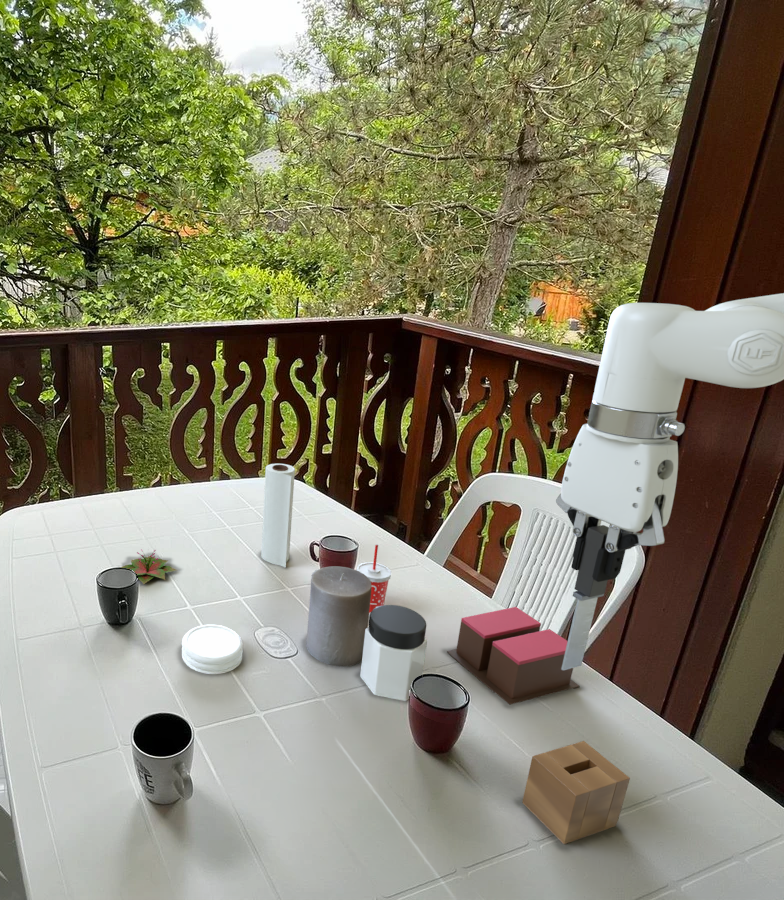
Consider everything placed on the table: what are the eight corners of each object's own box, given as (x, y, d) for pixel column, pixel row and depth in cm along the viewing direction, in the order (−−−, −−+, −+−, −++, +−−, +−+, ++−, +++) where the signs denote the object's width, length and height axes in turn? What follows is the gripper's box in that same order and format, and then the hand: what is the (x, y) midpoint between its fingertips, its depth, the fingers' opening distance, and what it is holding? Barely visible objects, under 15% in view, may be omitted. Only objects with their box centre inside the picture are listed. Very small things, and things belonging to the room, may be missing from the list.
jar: (381, 661, 105) (388, 597, 101) (427, 685, 99) (438, 618, 95) (350, 685, 99) (357, 618, 95) (398, 712, 93) (407, 642, 89)
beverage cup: (345, 610, 119) (351, 542, 115) (367, 600, 122) (374, 534, 118) (370, 626, 114) (378, 556, 110) (393, 615, 118) (401, 547, 113)
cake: (510, 641, 110) (517, 602, 108) (578, 691, 98) (588, 649, 96) (445, 655, 106) (451, 616, 104) (508, 710, 94) (517, 666, 92)
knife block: (570, 791, 80) (583, 740, 77) (614, 831, 74) (630, 778, 72) (520, 808, 78) (532, 755, 75) (562, 850, 72) (576, 795, 70)
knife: (574, 659, 80) (607, 524, 74) (589, 669, 78) (623, 531, 72) (553, 665, 78) (584, 528, 73) (567, 675, 77) (600, 535, 71)
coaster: (188, 681, 99) (188, 662, 98) (176, 644, 109) (176, 626, 108) (249, 674, 101) (250, 655, 100) (233, 637, 111) (233, 620, 110)
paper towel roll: (263, 551, 142) (268, 461, 135) (291, 555, 140) (297, 464, 133) (257, 566, 135) (261, 471, 128) (285, 571, 133) (291, 475, 127)
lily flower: (142, 593, 124) (141, 572, 123) (107, 570, 133) (106, 550, 132) (188, 573, 132) (188, 553, 131) (152, 553, 141) (152, 534, 139)
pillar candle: (369, 644, 109) (378, 566, 104) (356, 677, 101) (365, 594, 96) (314, 629, 113) (320, 553, 108) (297, 659, 105) (303, 579, 100)
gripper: (734, 438, 62) (686, 602, 68) (588, 401, 77) (559, 540, 82) (681, 445, 60) (636, 615, 66) (541, 406, 74) (514, 548, 80)
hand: (593, 572), depth 74 cm, fingers closed on knife, 2 cm apart
